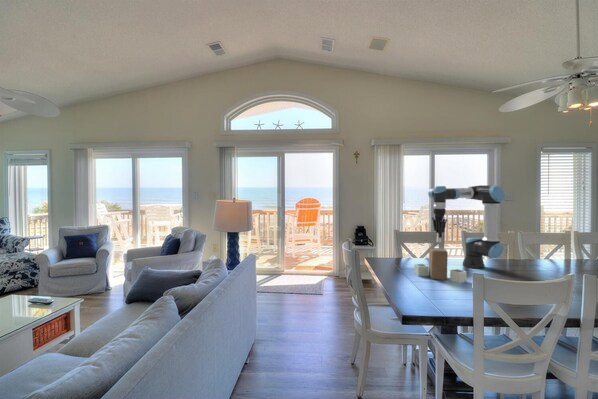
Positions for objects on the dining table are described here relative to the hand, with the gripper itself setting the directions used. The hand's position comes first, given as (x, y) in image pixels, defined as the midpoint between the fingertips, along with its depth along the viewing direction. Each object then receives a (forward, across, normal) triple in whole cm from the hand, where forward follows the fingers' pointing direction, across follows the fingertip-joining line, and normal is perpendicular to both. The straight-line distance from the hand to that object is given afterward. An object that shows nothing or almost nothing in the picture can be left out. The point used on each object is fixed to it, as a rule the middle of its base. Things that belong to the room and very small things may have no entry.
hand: (438, 242), depth 214 cm
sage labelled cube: (+25, -9, -8) cm, 28 cm away
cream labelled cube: (+26, +9, +8) cm, 28 cm away
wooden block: (+26, 0, 0) cm, 26 cm away
